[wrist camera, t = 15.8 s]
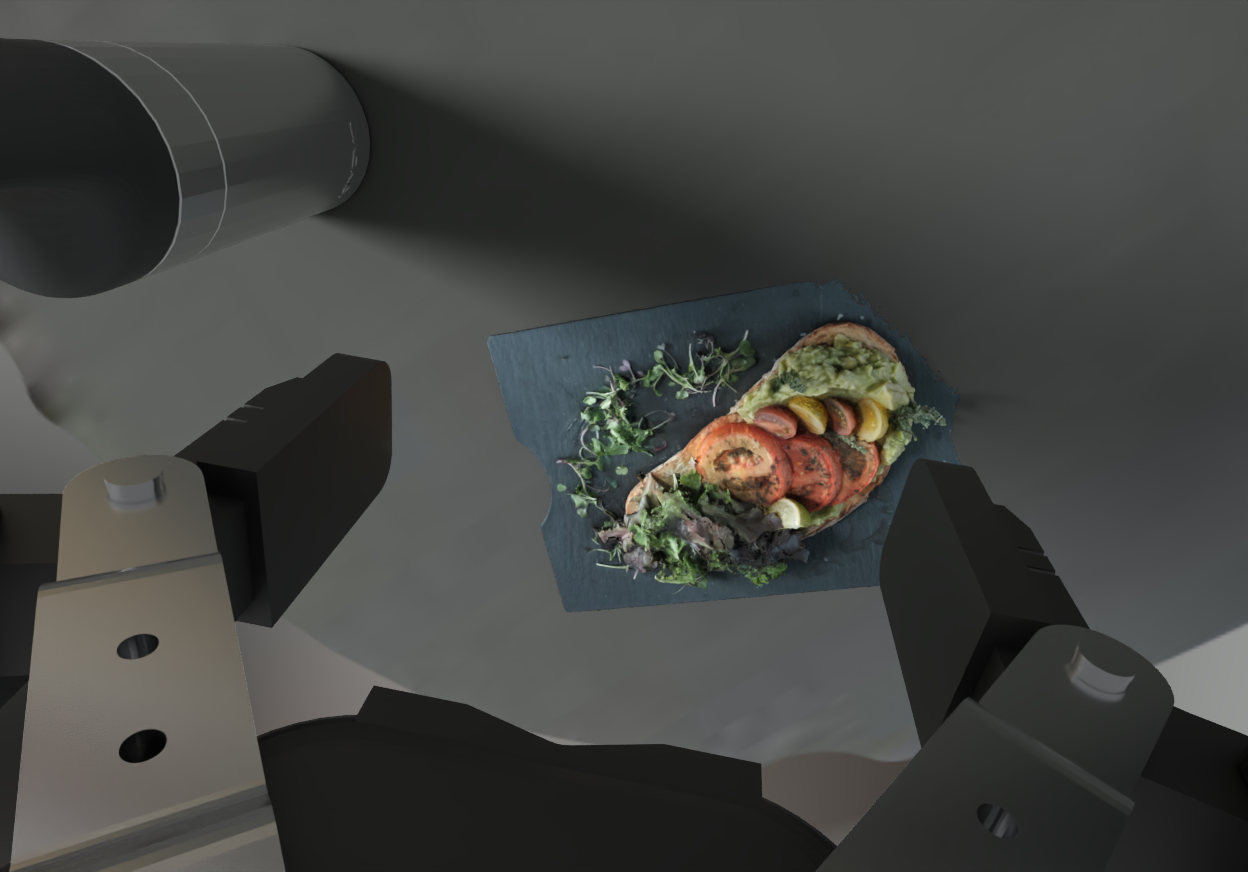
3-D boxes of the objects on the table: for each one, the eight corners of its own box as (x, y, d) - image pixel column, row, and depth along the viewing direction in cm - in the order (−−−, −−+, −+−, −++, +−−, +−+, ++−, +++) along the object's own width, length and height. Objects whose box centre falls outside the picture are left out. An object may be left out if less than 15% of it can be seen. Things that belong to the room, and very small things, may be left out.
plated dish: (1013, 173, 42) (1059, 198, 36) (1029, 591, 54) (1066, 667, 47) (429, 298, 51) (380, 336, 44) (549, 636, 62) (525, 706, 56)
